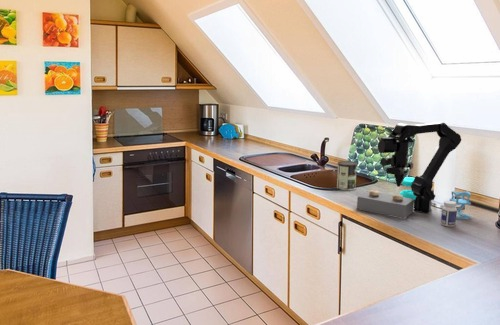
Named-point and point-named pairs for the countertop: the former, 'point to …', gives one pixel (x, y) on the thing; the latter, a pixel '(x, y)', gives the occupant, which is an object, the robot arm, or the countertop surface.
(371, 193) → the far cap
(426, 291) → the countertop surface
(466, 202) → the chair
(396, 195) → the near cap
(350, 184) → the coffee can
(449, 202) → the pill bottle
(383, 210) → the housing
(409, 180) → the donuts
